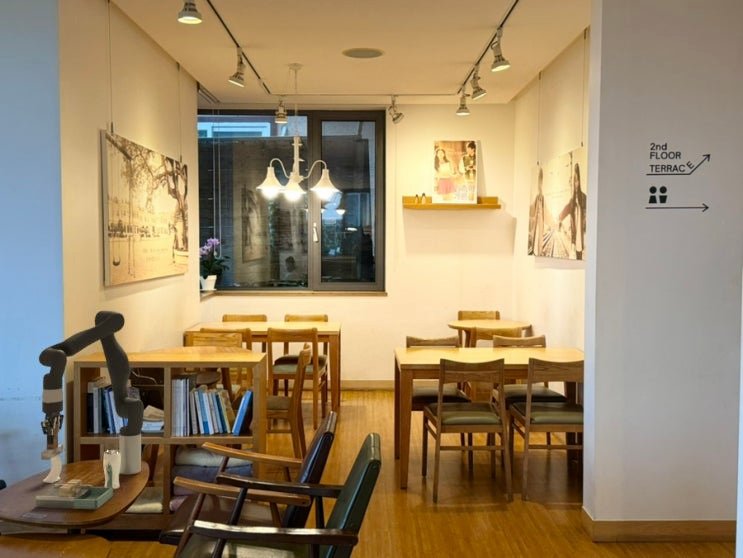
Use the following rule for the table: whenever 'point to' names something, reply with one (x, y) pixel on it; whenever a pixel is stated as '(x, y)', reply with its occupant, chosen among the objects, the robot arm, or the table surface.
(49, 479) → the headphone stand
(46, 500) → the open box
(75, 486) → the maple cube
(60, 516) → the table surface
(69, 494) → the maple cube
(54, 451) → the rake tool
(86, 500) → the chip tray
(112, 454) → the beer glass
